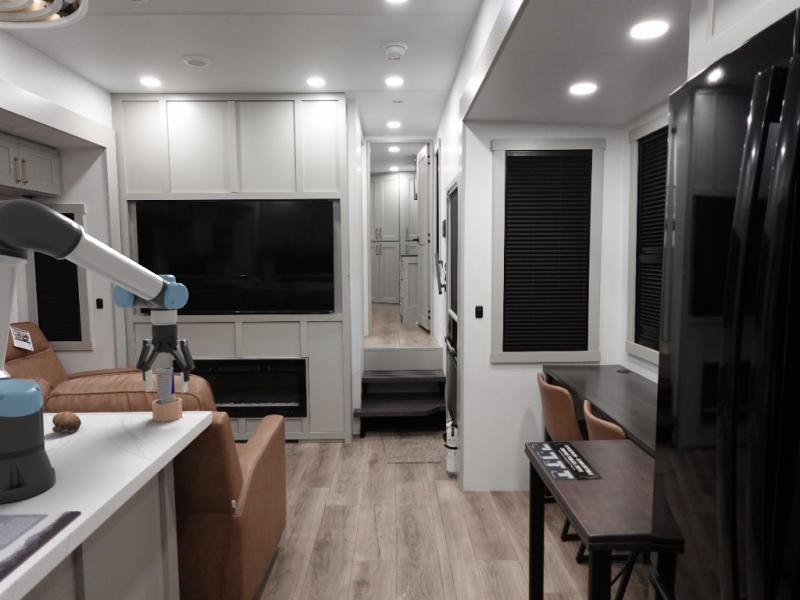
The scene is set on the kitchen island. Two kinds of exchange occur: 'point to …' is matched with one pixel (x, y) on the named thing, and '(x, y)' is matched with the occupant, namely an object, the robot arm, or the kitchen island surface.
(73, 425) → the mushroom
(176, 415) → the light orange hollow cylinder
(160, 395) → the beverage can
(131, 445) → the kitchen island surface
